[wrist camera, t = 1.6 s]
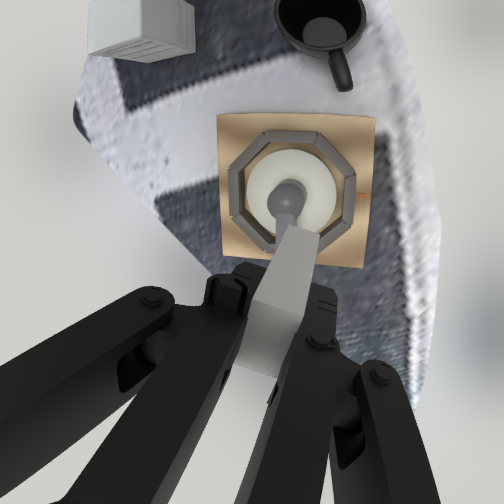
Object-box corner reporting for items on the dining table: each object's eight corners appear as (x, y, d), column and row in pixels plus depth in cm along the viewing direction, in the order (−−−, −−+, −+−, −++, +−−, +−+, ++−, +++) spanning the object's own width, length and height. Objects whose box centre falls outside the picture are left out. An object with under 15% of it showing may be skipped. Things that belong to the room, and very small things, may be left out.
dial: (249, 147, 35) (233, 153, 30) (338, 150, 32) (338, 156, 27) (252, 266, 41) (238, 289, 36) (330, 273, 39) (327, 299, 33)
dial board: (222, 114, 36) (208, 114, 32) (372, 118, 32) (377, 117, 28) (228, 249, 44) (216, 263, 40) (362, 261, 39) (363, 277, 35)
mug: (307, 103, 33) (297, 98, 25) (281, 14, 29) (263, -15, 21) (376, 92, 31) (389, 83, 22) (348, 2, 27) (350, -31, 18)
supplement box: (147, 18, 33) (87, -2, 21) (196, 6, 31) (143, -25, 20) (148, 64, 36) (84, 56, 24) (197, 54, 34) (141, 36, 23)
